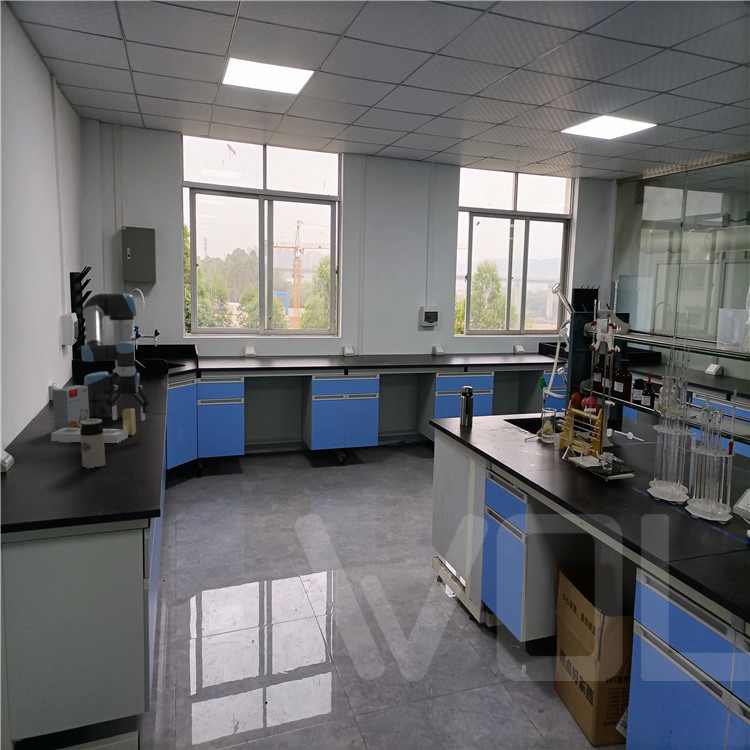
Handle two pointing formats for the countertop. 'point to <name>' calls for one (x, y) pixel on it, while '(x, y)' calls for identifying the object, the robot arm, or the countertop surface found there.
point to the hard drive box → (70, 406)
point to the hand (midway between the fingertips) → (129, 419)
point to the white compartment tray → (75, 436)
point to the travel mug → (92, 443)
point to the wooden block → (129, 421)
